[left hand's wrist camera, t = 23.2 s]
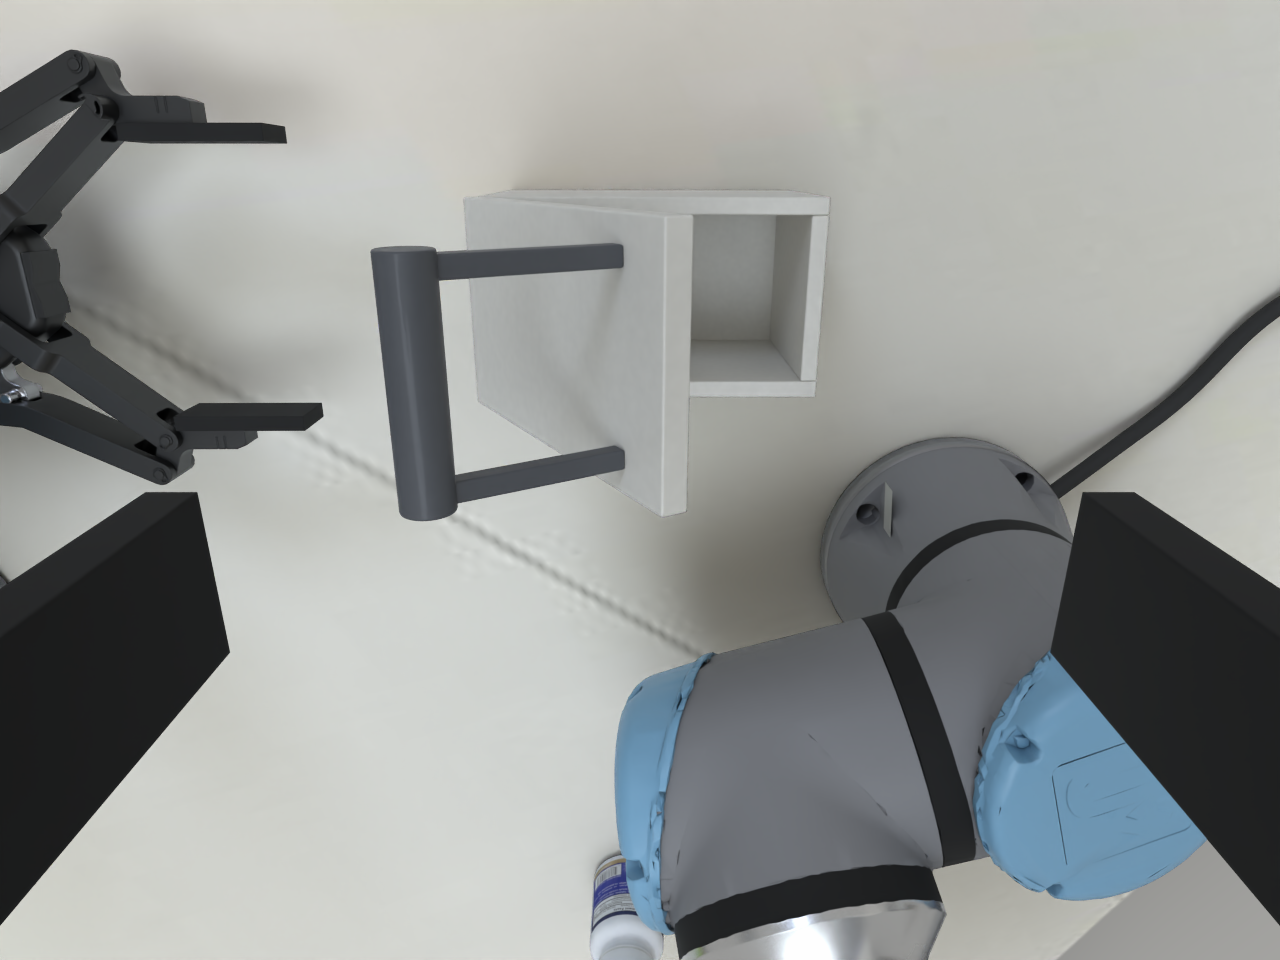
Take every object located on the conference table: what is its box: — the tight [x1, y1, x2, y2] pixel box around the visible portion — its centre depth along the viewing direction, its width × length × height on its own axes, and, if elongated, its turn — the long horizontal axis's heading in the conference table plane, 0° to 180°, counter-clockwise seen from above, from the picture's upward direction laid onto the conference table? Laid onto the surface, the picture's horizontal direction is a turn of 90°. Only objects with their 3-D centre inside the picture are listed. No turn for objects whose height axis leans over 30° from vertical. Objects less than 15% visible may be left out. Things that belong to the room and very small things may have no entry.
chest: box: [478, 190, 831, 397], centre depth 43 cm, size 16×9×11 cm, turn 90°
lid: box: [371, 197, 694, 521], centre depth 29 cm, size 16×9×8 cm
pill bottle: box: [590, 855, 664, 960], centre depth 60 cm, size 5×5×9 cm
